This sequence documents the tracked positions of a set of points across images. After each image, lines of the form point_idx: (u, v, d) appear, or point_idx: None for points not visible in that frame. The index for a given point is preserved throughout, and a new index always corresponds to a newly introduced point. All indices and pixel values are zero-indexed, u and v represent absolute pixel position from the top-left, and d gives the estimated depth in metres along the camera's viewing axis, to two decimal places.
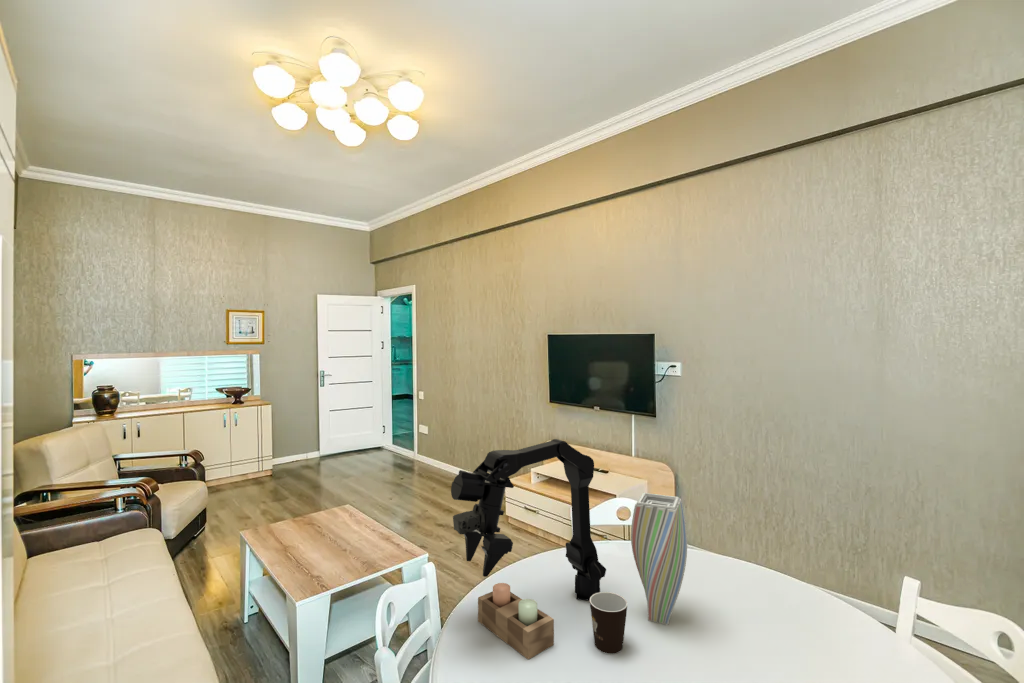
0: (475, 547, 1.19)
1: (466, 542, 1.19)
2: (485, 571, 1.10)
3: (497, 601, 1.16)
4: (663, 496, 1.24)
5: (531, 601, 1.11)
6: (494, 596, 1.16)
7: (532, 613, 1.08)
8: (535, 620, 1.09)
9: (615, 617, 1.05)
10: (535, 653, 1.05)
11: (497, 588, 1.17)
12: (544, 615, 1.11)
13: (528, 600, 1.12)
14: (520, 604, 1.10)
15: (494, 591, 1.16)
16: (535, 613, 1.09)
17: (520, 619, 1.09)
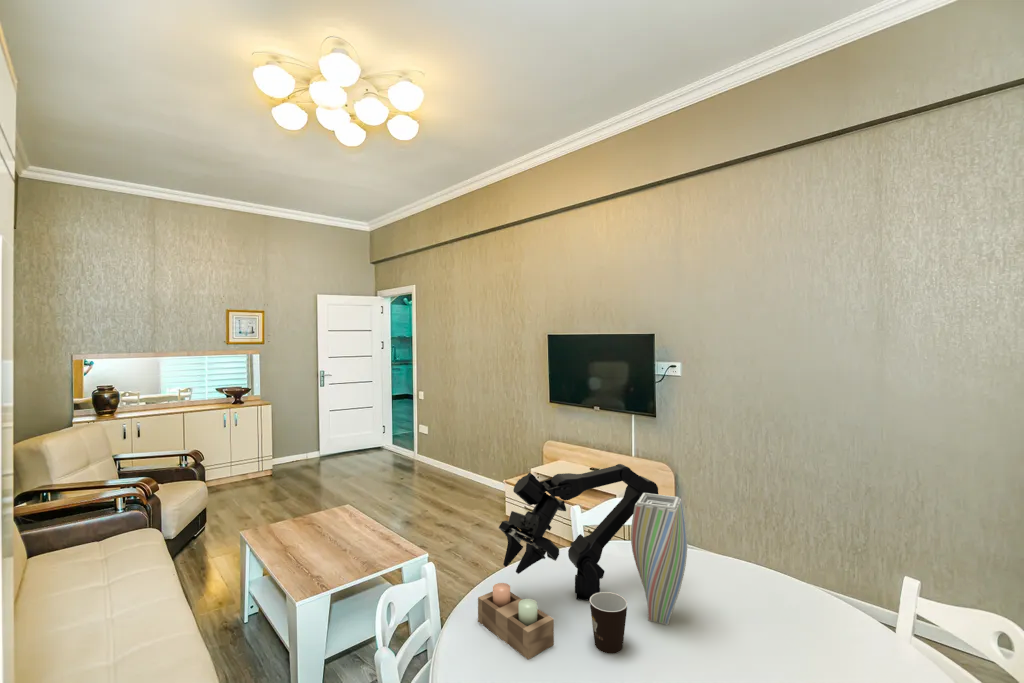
0: (513, 556, 1.24)
1: (509, 547, 1.24)
2: (520, 567, 1.18)
3: (497, 601, 1.16)
4: (663, 496, 1.24)
5: (531, 601, 1.11)
6: (494, 596, 1.16)
7: (532, 613, 1.08)
8: (535, 620, 1.09)
9: (615, 617, 1.05)
10: (535, 653, 1.05)
11: (497, 588, 1.17)
12: (544, 615, 1.11)
13: (528, 600, 1.12)
14: (520, 604, 1.10)
15: (494, 591, 1.16)
16: (535, 613, 1.09)
17: (520, 619, 1.09)
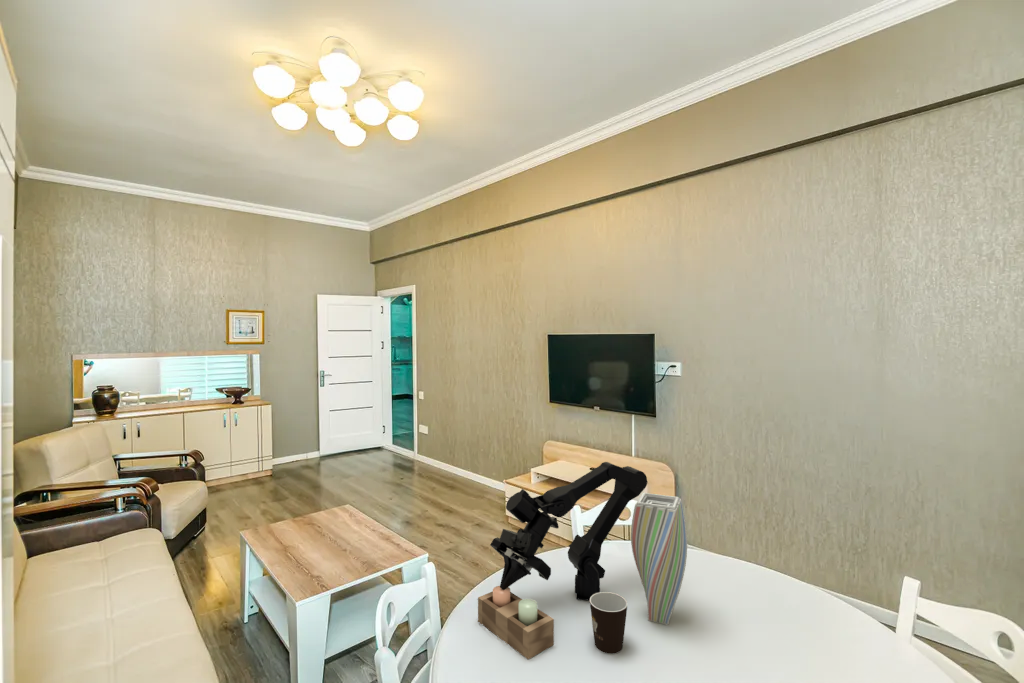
0: None
1: (506, 569, 1.20)
2: (505, 583, 1.18)
3: (497, 604, 1.16)
4: (663, 496, 1.24)
5: (531, 601, 1.11)
6: (494, 599, 1.16)
7: (532, 613, 1.08)
8: (535, 620, 1.09)
9: (615, 617, 1.05)
10: (535, 653, 1.05)
11: (497, 590, 1.17)
12: (544, 615, 1.11)
13: (528, 600, 1.12)
14: (520, 604, 1.10)
15: (494, 594, 1.16)
16: (535, 613, 1.09)
17: (520, 619, 1.09)
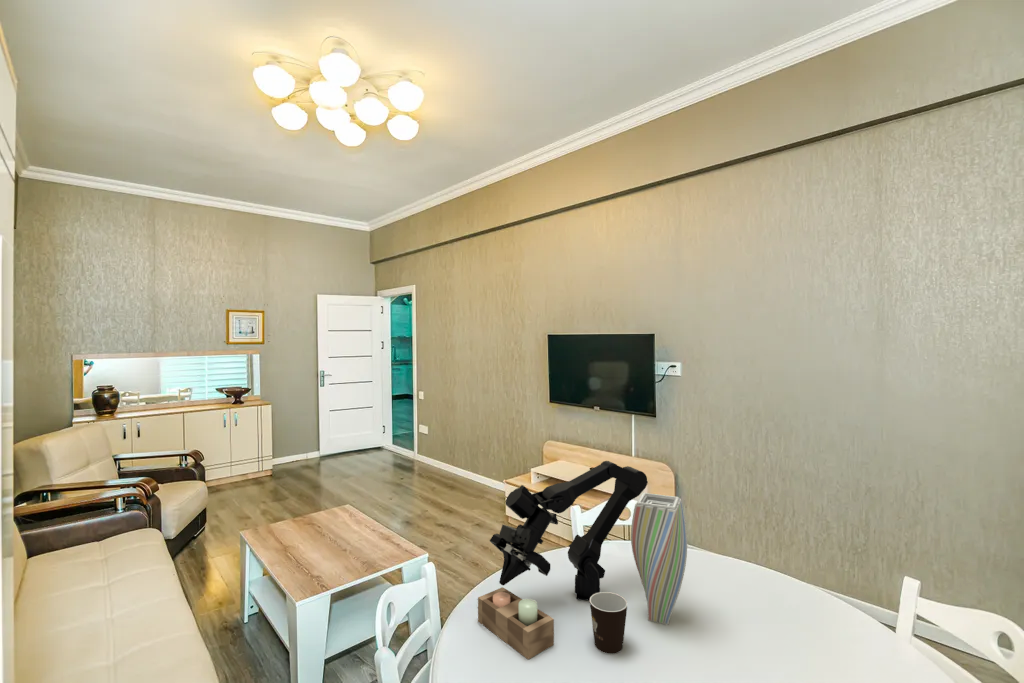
0: None
1: (505, 564, 1.20)
2: (504, 579, 1.18)
3: None
4: (663, 496, 1.24)
5: (531, 601, 1.11)
6: None
7: (532, 613, 1.08)
8: (535, 620, 1.09)
9: (615, 617, 1.05)
10: (535, 653, 1.05)
11: (497, 597, 1.17)
12: (544, 615, 1.11)
13: (528, 600, 1.12)
14: (520, 604, 1.10)
15: (494, 600, 1.16)
16: (535, 613, 1.09)
17: (520, 619, 1.09)
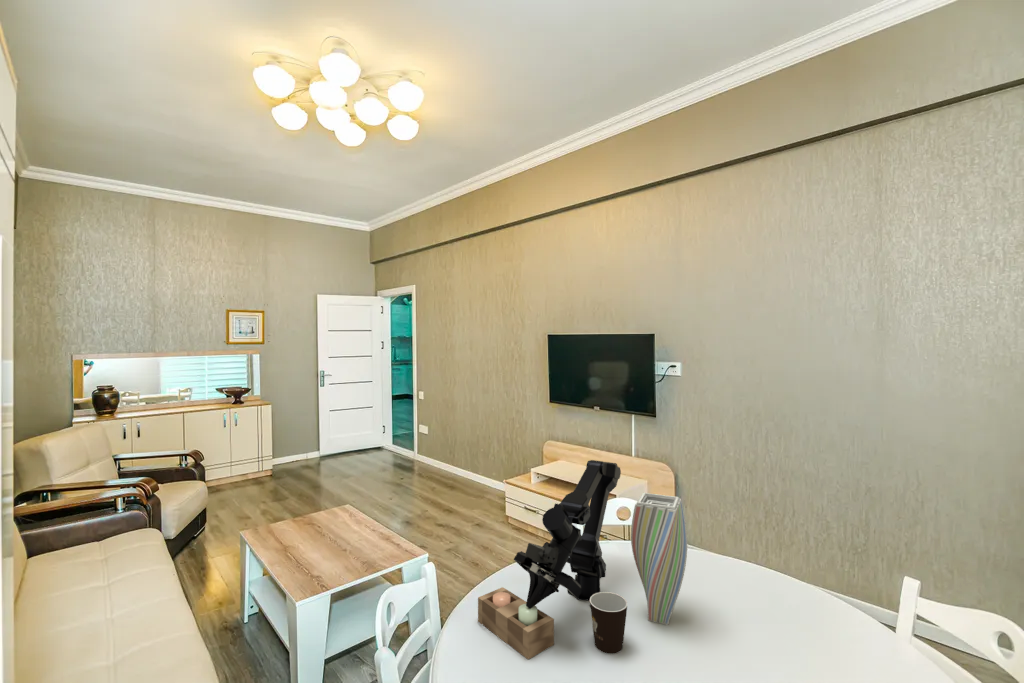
0: None
1: (532, 586, 1.12)
2: (532, 602, 1.10)
3: None
4: (663, 496, 1.24)
5: None
6: None
7: (532, 618, 1.08)
8: None
9: (615, 617, 1.05)
10: (535, 653, 1.05)
11: (497, 597, 1.17)
12: (544, 615, 1.11)
13: None
14: (520, 609, 1.10)
15: (494, 600, 1.16)
16: (535, 618, 1.09)
17: None
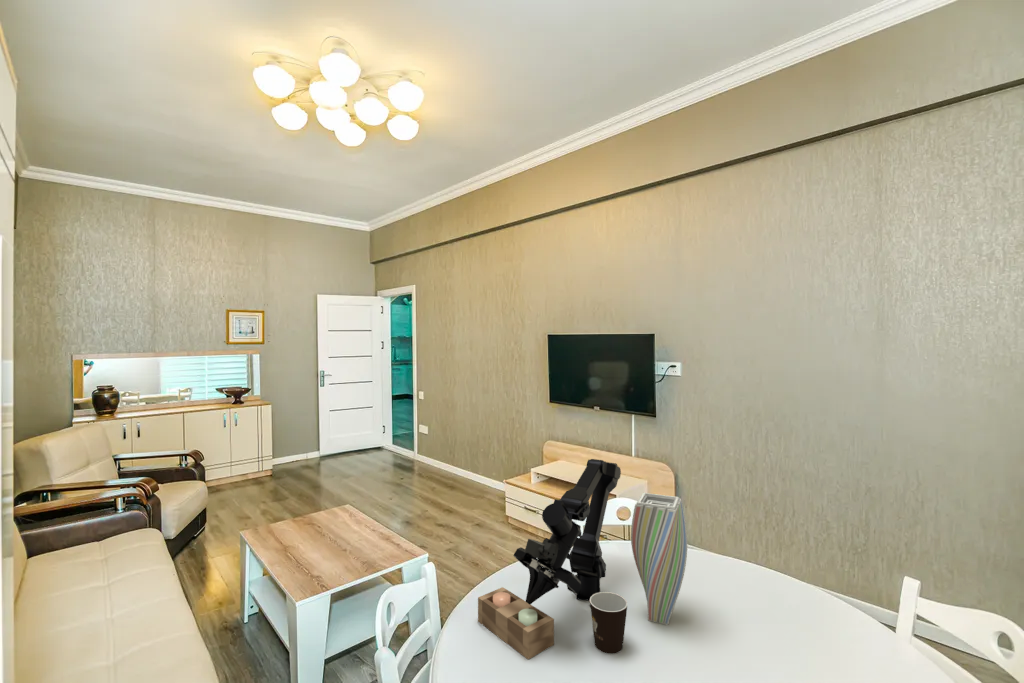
0: None
1: (531, 581, 1.12)
2: (531, 598, 1.10)
3: None
4: (663, 496, 1.24)
5: (531, 611, 1.11)
6: None
7: None
8: None
9: (615, 617, 1.05)
10: (535, 653, 1.05)
11: (497, 597, 1.17)
12: (544, 615, 1.11)
13: (528, 610, 1.12)
14: (520, 614, 1.10)
15: (494, 600, 1.16)
16: None
17: None
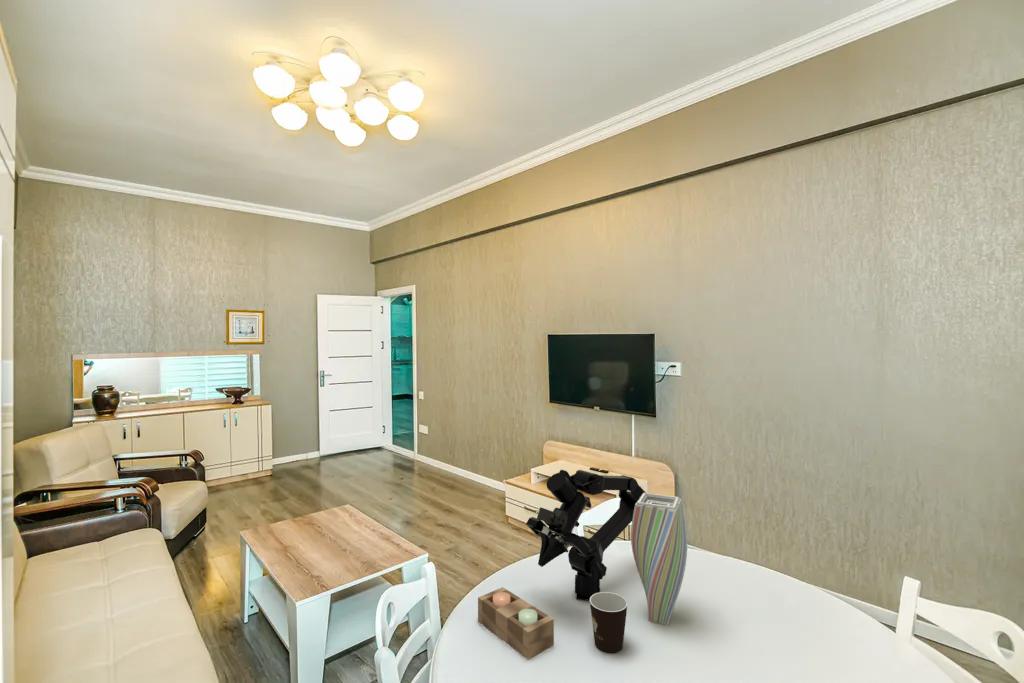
0: None
1: (543, 546, 1.22)
2: (543, 560, 1.19)
3: None
4: (663, 496, 1.24)
5: (531, 611, 1.11)
6: None
7: None
8: None
9: (615, 617, 1.05)
10: (535, 653, 1.05)
11: (497, 597, 1.17)
12: (544, 615, 1.11)
13: (528, 610, 1.12)
14: (520, 614, 1.10)
15: (494, 600, 1.16)
16: None
17: None
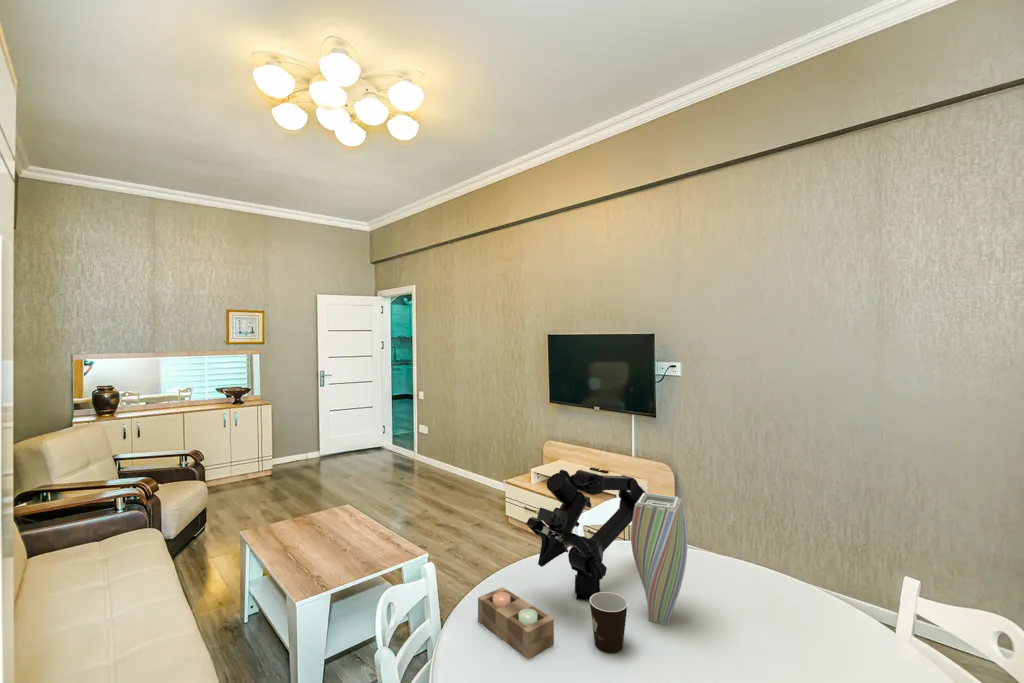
0: None
1: (543, 546, 1.22)
2: (543, 560, 1.19)
3: None
4: (663, 496, 1.24)
5: (531, 611, 1.11)
6: None
7: None
8: None
9: (615, 617, 1.05)
10: (535, 653, 1.05)
11: (497, 597, 1.17)
12: (544, 615, 1.11)
13: (528, 610, 1.12)
14: (520, 614, 1.10)
15: (494, 600, 1.16)
16: None
17: None
